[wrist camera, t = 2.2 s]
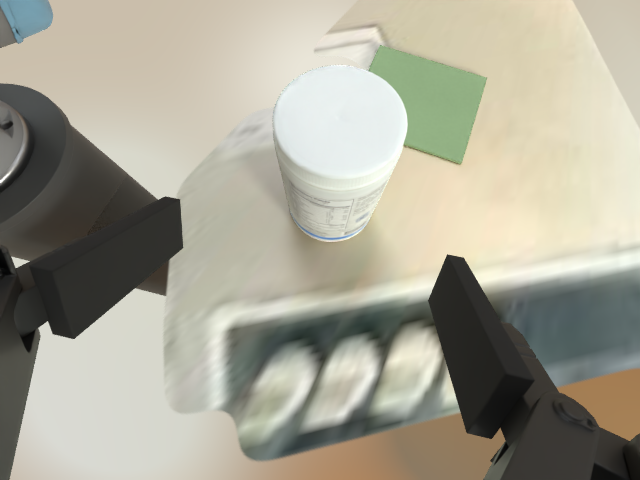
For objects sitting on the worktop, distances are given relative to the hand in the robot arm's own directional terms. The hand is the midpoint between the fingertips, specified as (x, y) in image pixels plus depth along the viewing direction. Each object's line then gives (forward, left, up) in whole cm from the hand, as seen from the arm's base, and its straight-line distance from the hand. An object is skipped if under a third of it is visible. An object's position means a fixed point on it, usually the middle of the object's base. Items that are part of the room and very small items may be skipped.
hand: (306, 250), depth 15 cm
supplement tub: (-2, +10, -17) cm, 20 cm away
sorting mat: (+3, +28, -17) cm, 33 cm away
